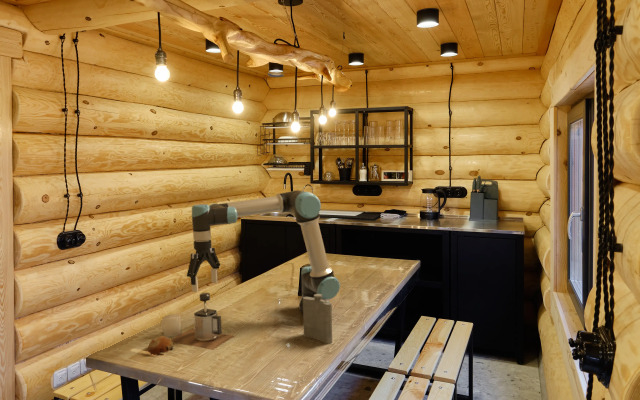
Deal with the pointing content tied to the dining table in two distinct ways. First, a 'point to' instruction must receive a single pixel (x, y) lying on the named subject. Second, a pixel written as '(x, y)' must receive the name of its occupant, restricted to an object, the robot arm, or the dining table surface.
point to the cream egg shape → (171, 325)
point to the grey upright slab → (317, 318)
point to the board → (190, 339)
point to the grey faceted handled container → (207, 325)
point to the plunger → (205, 299)
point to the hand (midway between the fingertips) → (205, 287)
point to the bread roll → (160, 345)
